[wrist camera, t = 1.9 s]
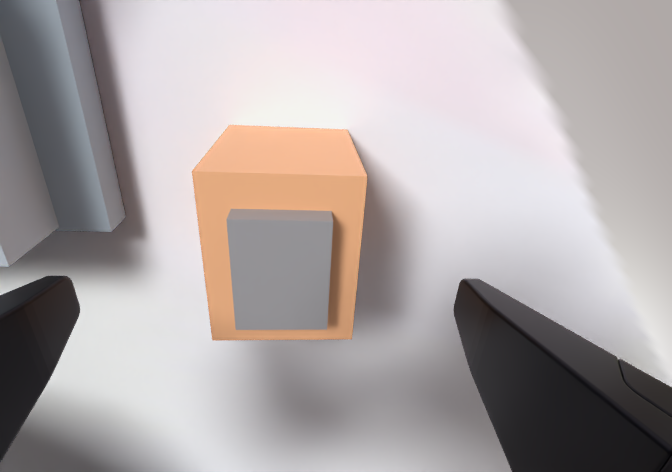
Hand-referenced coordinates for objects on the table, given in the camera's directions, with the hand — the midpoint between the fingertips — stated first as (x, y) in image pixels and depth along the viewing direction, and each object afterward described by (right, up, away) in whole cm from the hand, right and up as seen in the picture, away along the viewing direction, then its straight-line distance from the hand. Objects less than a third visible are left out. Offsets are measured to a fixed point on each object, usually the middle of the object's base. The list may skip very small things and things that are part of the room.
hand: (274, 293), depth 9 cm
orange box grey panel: (0, +3, +5) cm, 6 cm away
